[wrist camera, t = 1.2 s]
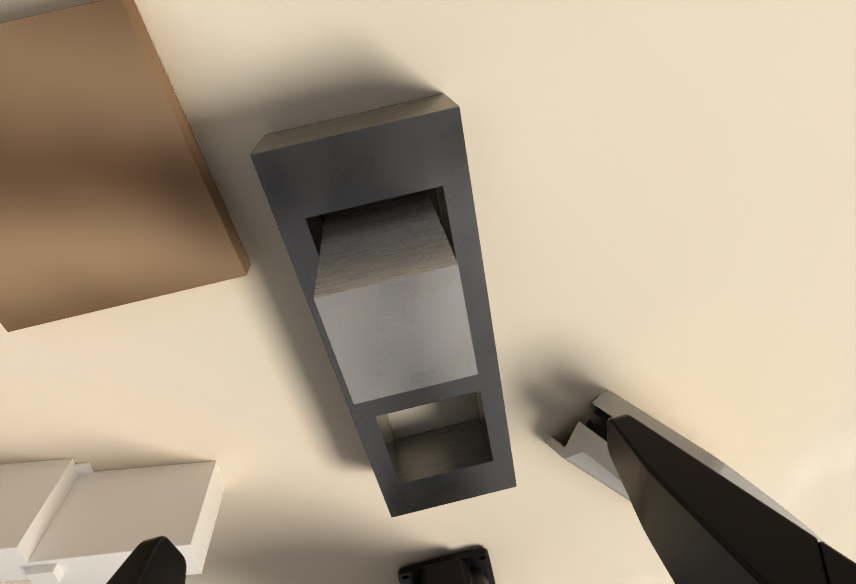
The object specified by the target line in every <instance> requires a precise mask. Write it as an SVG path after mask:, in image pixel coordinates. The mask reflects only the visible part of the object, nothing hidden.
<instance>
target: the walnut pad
mask: <svg viewBox="0 0 856 584" xmlns="http://www.w3.org/2000/svg"><path fill="white" fill-rule="evenodd" d="M250 265H251V264H250V261H249V259H248V257H247V255H246V252H245V250H244V248H243V246H242V243H241V241H240V239H239V237H238V234H237V232H236V230H235V228H234V225H233V223H232V221H231V219H230V216H229V214H228V212H227V210H226V207H225V205H224V203H223V201H222V198H221V196H220V194H219V191H218V189H217V187H216V185H215V182H214V180H213V178H212V176H211V173H210V171H209V169H208V167H207V164H206V162H205V160H204V158H203V155H202V153H201V151H200V149H199V146H198V144H197V142H196V140H195V137H194V135H193V133H192V131H191V128H190V126H189V124H188V122H187V119H186V117H185V115H184V113H183V110H182V108H181V106H180V103H179V101H178V99H177V97H176V94H175V92H174V90H173V88H172V85H171V83H170V81H169V79H168V76H167V74H166V72H165V70H164V67H163V65H162V63H161V61H160V58H159V56H158V54H157V52H156V49H155V47H154V45H153V43H152V40H151V38H150V36H149V34H148V31H147V29H146V27H145V25H144V22H143V20H142V18H141V15H140V13H139V11H138V9H137V6H136V4H135V2H134V0H102V1H97V2H93V3H88V4H84V5H79V6H75V7H71V8H66V9H62V10H57V11H53V12H48V13H44V14H39V15H35V16H31V17H26V18H22V19H17V20H13V21H8V22H4V23H0V323H1V324H2V325H3V327H4V328H5V329H6V330H7V331H8V332H10V331H14V330H18V329H23V328H27V327H31V326H35V325H40V324H44V323H48V322H52V321H56V320H61V319H65V318H69V317H73V316H77V315H82V314H86V313H90V312H94V311H98V310H103V309H107V308H111V307H115V306H119V305H124V304H128V303H132V302H136V301H140V300H145V299H149V298H153V297H157V296H161V295H166V294H170V293H174V292H178V291H182V290H187V289H191V288H195V287H199V286H203V285H208V284H212V283H216V282H220V281H225V280H229V279H233V278H237V277H241V276H246V275H247V273H248V270H249V268H250Z"/></svg>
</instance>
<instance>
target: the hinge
mask: <svg viewBox="0 0 856 584" xmlns="http://www.w3.org/2000/svg"><path fill="white" fill-rule="evenodd" d="M592 403H593V404H594V405H595V406H596V407H598V408H597V410H596V411H595V412H594V414H596V415H597V416H598V417H600V418H601V419H602V420H604V421H605V422H606V423H607V421H608V419H609V418H611V417H615V416H619V415H623V414H628V415H631V416H633V417H634V418H636V419H637V420H639V421H640V422H642V423H643V424H645V425H646V426H648V427H649V428H651V429H652V430H654V431H655V432H657V433H658V434H660V435H661V436H663V437H664V438H666V439H667V440H669V441H670V442H672V443H674V444H675V445H677V446H678V447H680V448H681V449H683V450H684V451H686V452H687V453H689V454H690V455H692V456H693V457H695V458H696V459H698V460H699V461H701V462H702V463H704V464H705V465H707V466H708V467H710V468H711V469H713V470H715V471H716V472H718V473H719V474H721V475H722V476H724V477H725V478H727V479H728V480H730V481H731V482H733V483H734V484H736V485H737V486H739V487H740V488H742V489H743V490H745V491H746V492H748V493H749V494H751V495H752V496H754V497H756V498H757V499H759V500H760V501H762V502H763V503H765V504H766V505H768V506H769V507H771V508H772V509H774V510H775V511H777V512H778V513H780V514H781V515H783V516H784V517H786V518H787V519H789V520H790V521H792V522H793V523H795V524H796V525H798V526H800V527H801V528H803V529H804V530H806V531H807V532H809V533H810V534H812V535H813V536H815V537H816V538H817V540H818V542H820V541H822V542H824V541H823V540H822V539H821V538H820V537H818V536H817V535H816V534H815V533H814V532H813V531H812V530H810V529H809V528H808V527H807V526H806V525H804V524H803V523H802V522H801V521H800V520H798V519H797V518H796V517H794V516H793V515H792V514H791V513H789V512H788V511H787V510H786V509H784V508H783V507H782V506H780V505H779V504H778V503H777V502H775V501H774V500H773V499H771V498H770V497H769V496H768V495H766V494H765V493H764V492H762V491H761V490H760V489H758V488H757V487H756V486H754V485H753V484H752V483H750V482H749V481H748V480H746V479H745V478H744V477H742V476H741V475H740V474H738V473H737V472H736V471H734V470H733V469H732V468H730V467H729V466H728V465H726V464H725V463H723V462H722V461H720V460H719V459H717V458H716V457H714V456H713V455H711V454H710V453H708V452H707V451H705V450H704V449H702V448H701V447H699V446H697V445H696V444H694V443H693V442H691V441H689V440H688V439H686V438H685V437H683V436H681V435H680V434H678V433H677V432H675V431H673V430H672V429H670V428H669V427H667V426H665V425H664V424H662V423H661V422H659V421H657V420H656V419H654V418H653V417H651V416H649V415H648V414H646V413H645V412H643V411H641V410H640V409H638V408H637V407H635V406H633V405H632V404H630V403H629V402H627V401H625V400H624V399H622V398H621V397H619V396H617V395H616V394H614V393H613V392H611V391H609V390H607V391H605V392H603V393H602V394H600V395H599V396H598V397H597V398H596V399H595V400H594V401H593V402H592ZM546 443H547V444H548V445H549V446H550V447H551V448H552V449H553V450H555V451H556V452H557V453H558V454H559V455H560V456H561V457H563V458H564V459H566V460H567V461H569V462H570V463H572V464H573V465H575V466H577V467H578V468H580V469H581V470H583V471H584V472H586V473H587V474H589V475H591V476H592V477H594V478H595V479H597V480H598V481H600V482H601V483H603V484H605V485H606V486H608V487H609V488H611V489H612V490H614V491H615V492H617V493H619V494H620V495H622V496H623V497H625V498H626V499H628V500H629V501H630V499H629V496H628V494H627V492H626V490H625V488H624V486H623V483H622V481H621V479H620V477H619V475H618V472H617V470H616V468H615V466H614V464H613V461H612V459H611V457H610V454H609V451H608V447H607V432H606V431H604V430H603V429H601V428H600V427H599V426H597V425H596V424H595V423H593V422H592V421H590V420H589V421H588V422H587V424H586V425H584V424H582V423H581V422H578V424H577V426H576V428H575V429H574V431H573V433H572V435H571V437H570V439H569V441H568V443H567V444H566V446H564V445H563V444H561V443H560V442H558V441H557V440H555V439H554V438H552V437H551V436H550V437H549V438H548V439H547V440H546ZM824 543H825V542H824Z"/></svg>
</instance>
